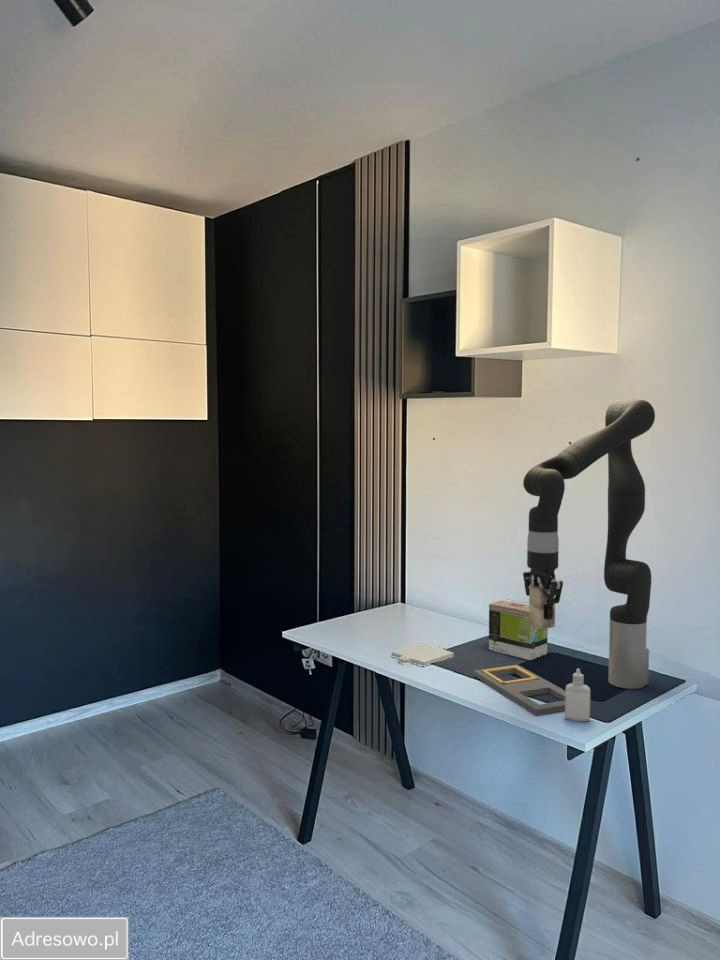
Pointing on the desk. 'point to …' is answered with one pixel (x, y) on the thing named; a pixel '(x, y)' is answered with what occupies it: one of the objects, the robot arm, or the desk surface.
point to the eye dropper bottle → (577, 699)
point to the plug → (539, 608)
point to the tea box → (515, 630)
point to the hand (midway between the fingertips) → (541, 616)
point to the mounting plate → (422, 654)
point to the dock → (523, 688)
